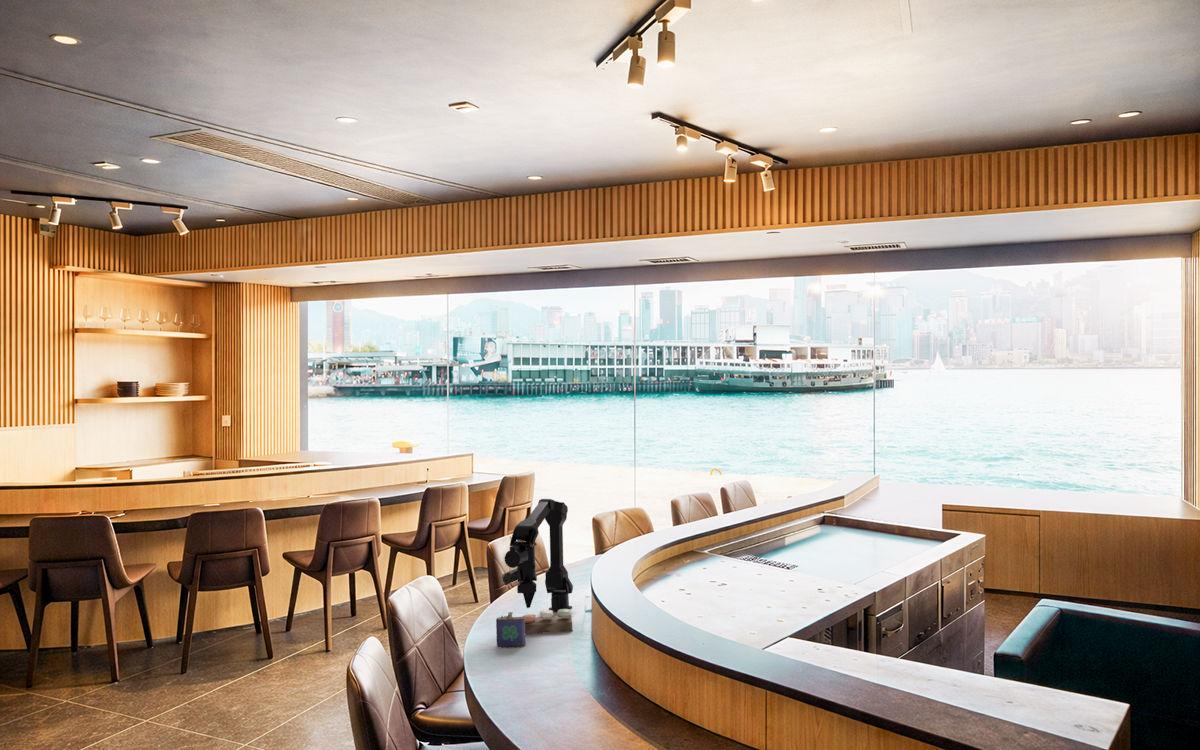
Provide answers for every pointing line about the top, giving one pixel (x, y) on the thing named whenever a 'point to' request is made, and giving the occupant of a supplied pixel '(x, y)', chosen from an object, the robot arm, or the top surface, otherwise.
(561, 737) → the top surface
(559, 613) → the button sage
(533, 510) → the robot arm
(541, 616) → the button cream
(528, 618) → the button terracotta
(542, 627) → the console
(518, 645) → the flask
